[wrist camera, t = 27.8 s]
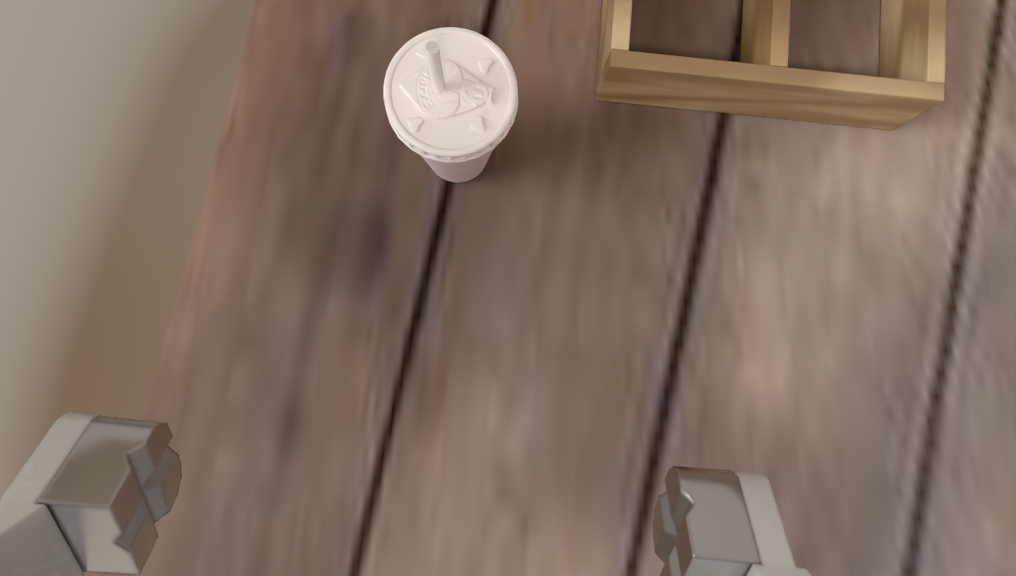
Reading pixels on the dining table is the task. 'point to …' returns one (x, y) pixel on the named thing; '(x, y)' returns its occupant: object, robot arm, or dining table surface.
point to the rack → (784, 70)
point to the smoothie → (451, 99)
